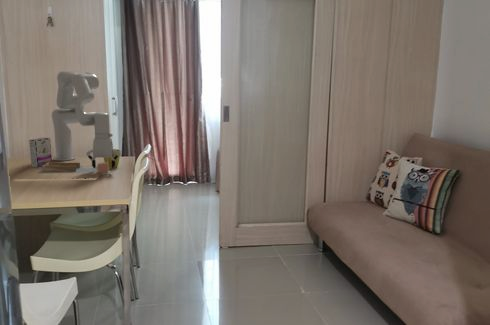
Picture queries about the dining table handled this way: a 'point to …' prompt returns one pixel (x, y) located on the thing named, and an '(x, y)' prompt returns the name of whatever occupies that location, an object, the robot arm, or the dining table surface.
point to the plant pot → (108, 159)
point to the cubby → (60, 167)
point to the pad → (106, 173)
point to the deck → (77, 170)
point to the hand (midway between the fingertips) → (103, 167)
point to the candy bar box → (40, 152)
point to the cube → (103, 167)
